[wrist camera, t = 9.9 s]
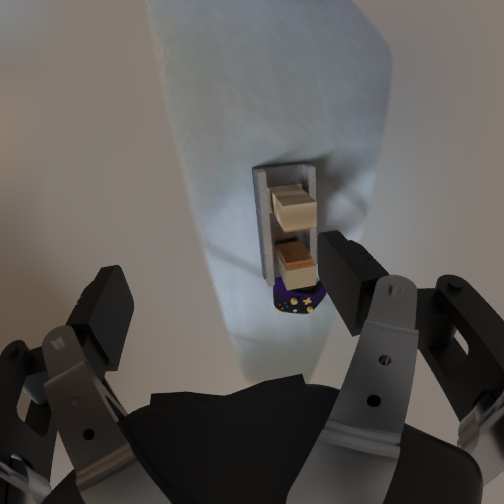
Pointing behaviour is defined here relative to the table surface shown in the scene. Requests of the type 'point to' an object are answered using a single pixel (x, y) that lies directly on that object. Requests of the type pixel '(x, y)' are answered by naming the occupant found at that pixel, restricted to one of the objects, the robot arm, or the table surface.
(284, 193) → the beech finger
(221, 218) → the table surface
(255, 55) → the table surface
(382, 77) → the table surface
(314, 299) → the gaming controller
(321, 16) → the table surface
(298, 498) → the robot arm
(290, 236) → the grey block holder
